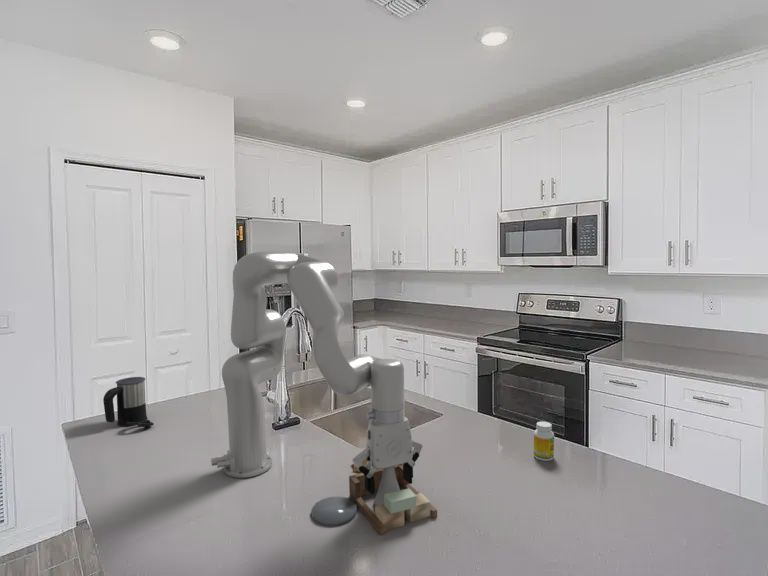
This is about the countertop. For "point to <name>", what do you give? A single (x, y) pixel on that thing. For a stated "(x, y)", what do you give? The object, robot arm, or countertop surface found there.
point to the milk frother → (127, 403)
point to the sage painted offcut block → (400, 500)
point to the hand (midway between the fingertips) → (389, 486)
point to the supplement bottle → (544, 441)
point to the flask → (386, 485)
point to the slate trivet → (334, 511)
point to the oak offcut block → (389, 517)
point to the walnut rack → (359, 490)
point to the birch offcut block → (418, 509)
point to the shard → (362, 464)
